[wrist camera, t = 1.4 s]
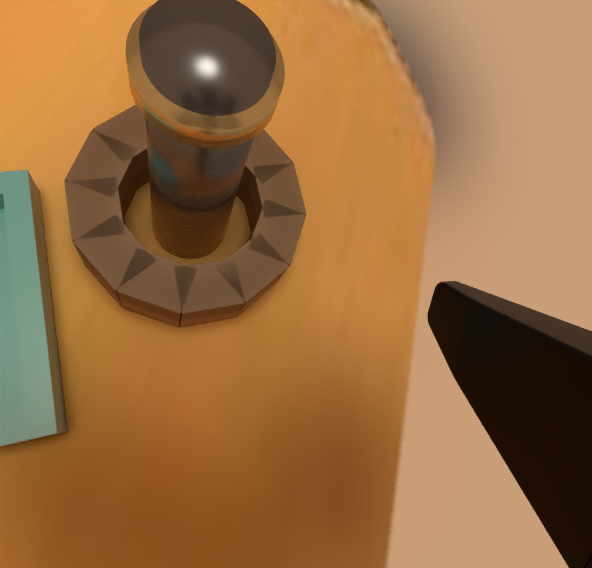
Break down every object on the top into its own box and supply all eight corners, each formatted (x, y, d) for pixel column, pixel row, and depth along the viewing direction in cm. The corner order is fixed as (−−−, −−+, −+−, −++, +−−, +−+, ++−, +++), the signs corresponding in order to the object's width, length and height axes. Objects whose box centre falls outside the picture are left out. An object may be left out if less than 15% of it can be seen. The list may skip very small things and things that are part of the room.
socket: (306, 304, 24) (325, 289, 21) (95, 342, 21) (84, 330, 18) (265, 131, 26) (276, 96, 23) (68, 141, 23) (54, 103, 20)
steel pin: (239, 259, 23) (304, 112, 12) (152, 271, 22) (137, 120, 11) (223, 183, 24) (270, -18, 13) (139, 190, 23) (113, -25, 12)
